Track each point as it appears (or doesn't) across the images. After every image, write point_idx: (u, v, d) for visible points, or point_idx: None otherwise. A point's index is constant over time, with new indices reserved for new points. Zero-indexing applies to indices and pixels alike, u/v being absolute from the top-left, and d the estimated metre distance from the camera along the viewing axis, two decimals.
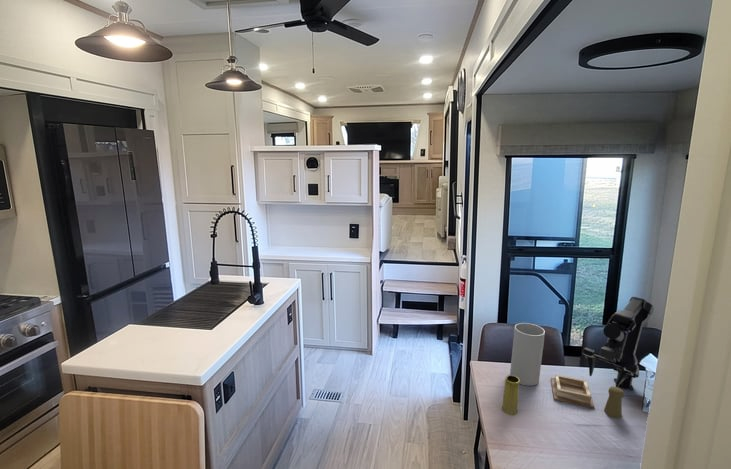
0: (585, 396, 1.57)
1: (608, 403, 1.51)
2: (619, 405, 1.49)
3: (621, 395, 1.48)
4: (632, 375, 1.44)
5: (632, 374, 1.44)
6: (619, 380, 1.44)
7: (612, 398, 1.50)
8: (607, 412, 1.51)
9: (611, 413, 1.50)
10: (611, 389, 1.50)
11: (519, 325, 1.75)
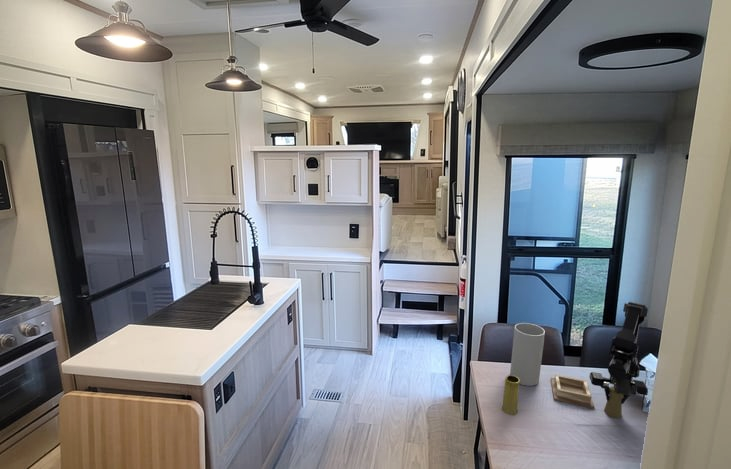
0: (585, 396, 1.57)
1: (608, 403, 1.51)
2: (619, 405, 1.49)
3: (621, 395, 1.48)
4: None
5: None
6: (624, 399, 1.49)
7: (612, 398, 1.50)
8: (607, 412, 1.51)
9: (611, 413, 1.50)
10: (611, 389, 1.50)
11: (519, 325, 1.75)
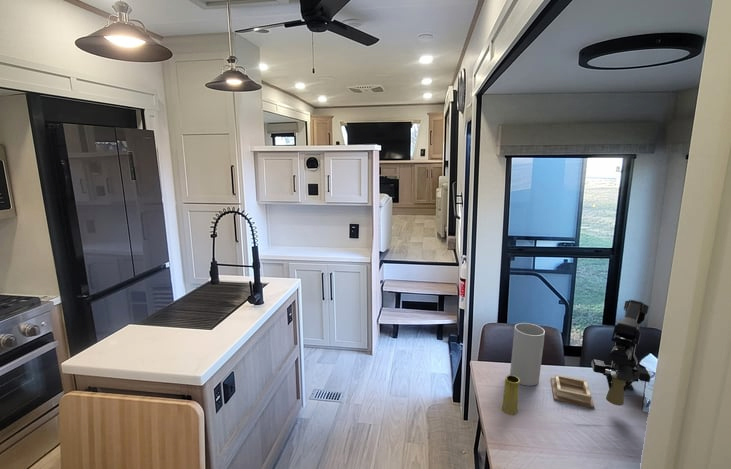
0: (585, 396, 1.57)
1: (610, 391, 1.50)
2: (621, 392, 1.48)
3: (623, 382, 1.47)
4: None
5: None
6: (627, 386, 1.47)
7: (614, 385, 1.48)
8: (609, 400, 1.50)
9: (613, 401, 1.49)
10: (613, 376, 1.49)
11: (519, 325, 1.75)
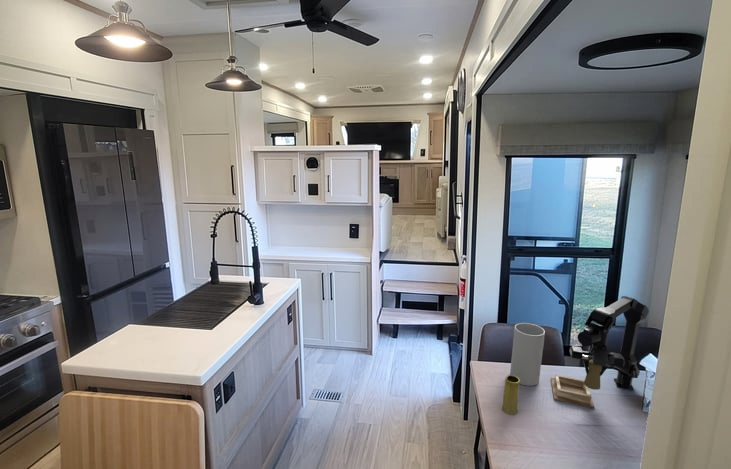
0: (585, 396, 1.57)
1: (587, 376, 1.56)
2: (598, 377, 1.54)
3: (600, 367, 1.53)
4: None
5: None
6: (603, 371, 1.54)
7: (591, 370, 1.55)
8: (586, 384, 1.56)
9: (590, 385, 1.55)
10: (590, 362, 1.55)
11: (519, 325, 1.75)
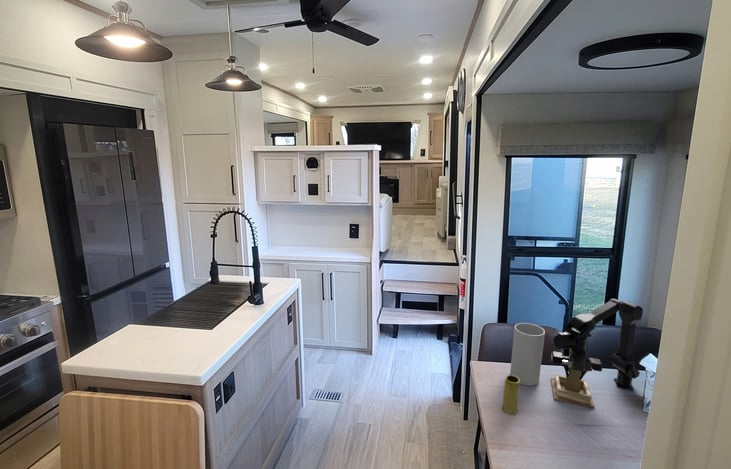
0: (585, 396, 1.57)
1: (567, 380, 1.63)
2: (577, 381, 1.61)
3: (579, 372, 1.60)
4: None
5: None
6: (582, 375, 1.60)
7: (571, 375, 1.61)
8: (567, 388, 1.63)
9: (570, 389, 1.62)
10: (570, 367, 1.62)
11: (519, 325, 1.75)
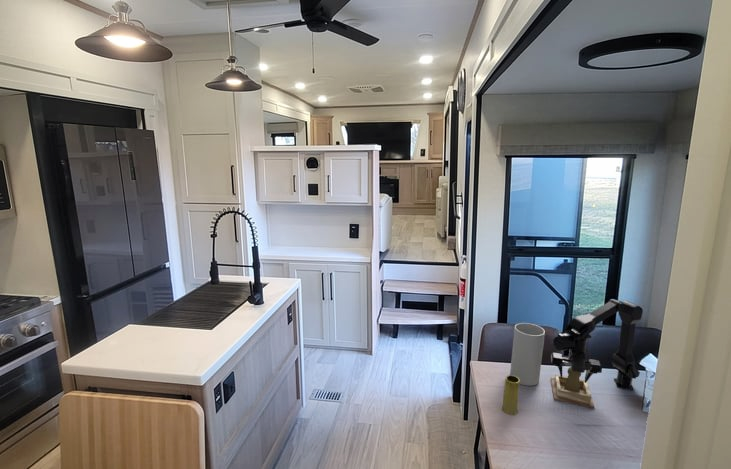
0: (585, 396, 1.57)
1: (567, 382, 1.63)
2: (577, 383, 1.61)
3: (578, 374, 1.60)
4: None
5: None
6: (587, 378, 1.60)
7: (570, 377, 1.62)
8: None
9: None
10: (570, 369, 1.62)
11: (519, 325, 1.75)
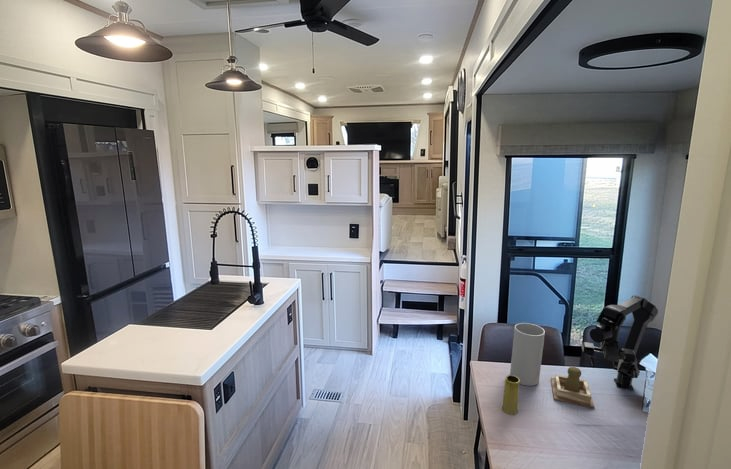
0: (585, 396, 1.57)
1: (567, 382, 1.63)
2: (577, 383, 1.61)
3: (578, 374, 1.60)
4: None
5: None
6: (620, 367, 1.57)
7: (570, 377, 1.62)
8: None
9: None
10: (570, 369, 1.62)
11: (519, 325, 1.75)
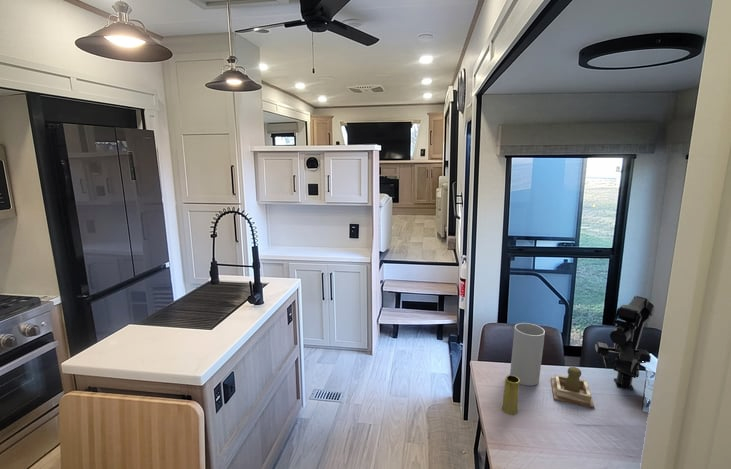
0: (585, 396, 1.57)
1: (567, 382, 1.63)
2: (577, 383, 1.61)
3: (578, 374, 1.60)
4: None
5: None
6: (634, 368, 1.56)
7: (570, 377, 1.62)
8: None
9: None
10: (570, 369, 1.62)
11: (519, 325, 1.75)
